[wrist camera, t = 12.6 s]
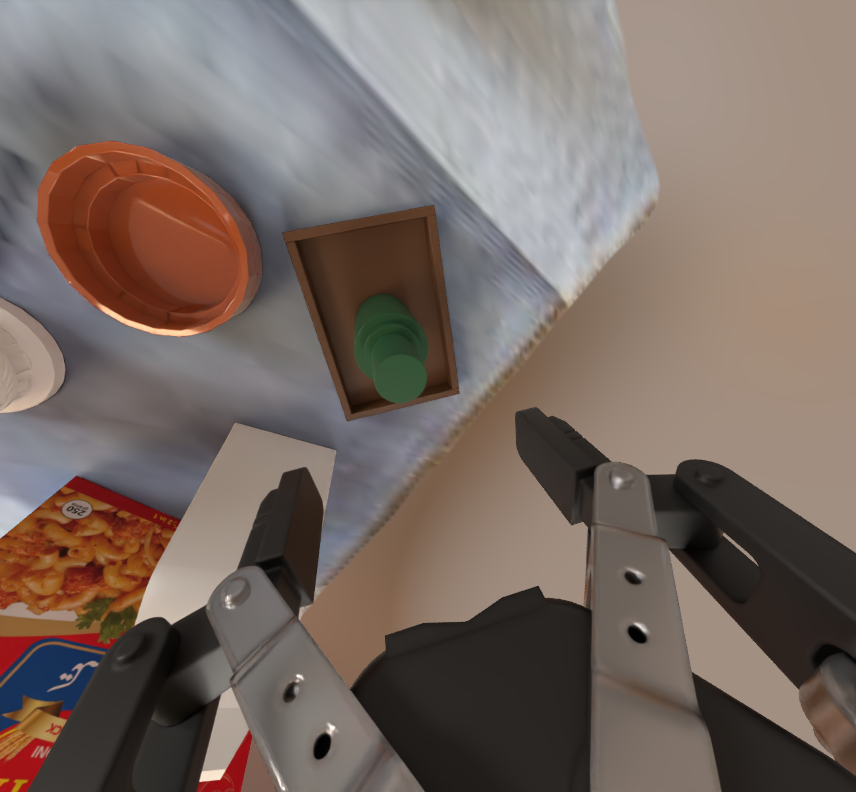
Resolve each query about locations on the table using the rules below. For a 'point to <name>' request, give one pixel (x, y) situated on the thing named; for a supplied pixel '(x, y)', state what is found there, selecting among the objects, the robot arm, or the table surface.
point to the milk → (226, 547)
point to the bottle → (391, 348)
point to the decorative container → (26, 360)
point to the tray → (369, 275)
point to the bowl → (148, 238)
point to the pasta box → (72, 615)
